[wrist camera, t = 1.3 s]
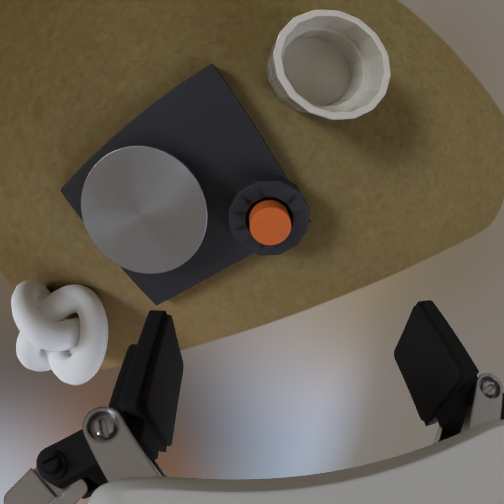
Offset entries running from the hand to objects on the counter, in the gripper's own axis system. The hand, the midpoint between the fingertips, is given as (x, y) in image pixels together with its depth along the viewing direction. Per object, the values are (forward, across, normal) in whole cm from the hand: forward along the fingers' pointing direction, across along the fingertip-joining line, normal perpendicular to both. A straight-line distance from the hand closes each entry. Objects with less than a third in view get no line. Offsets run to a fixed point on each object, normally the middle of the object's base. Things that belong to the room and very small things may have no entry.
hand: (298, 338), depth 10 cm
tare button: (+12, 0, 0) cm, 12 cm away
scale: (+14, +7, -1) cm, 16 cm away
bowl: (+14, -3, -11) cm, 18 cm away
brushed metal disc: (+11, +10, -1) cm, 15 cm away
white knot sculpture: (+15, +21, +11) cm, 28 cm away
